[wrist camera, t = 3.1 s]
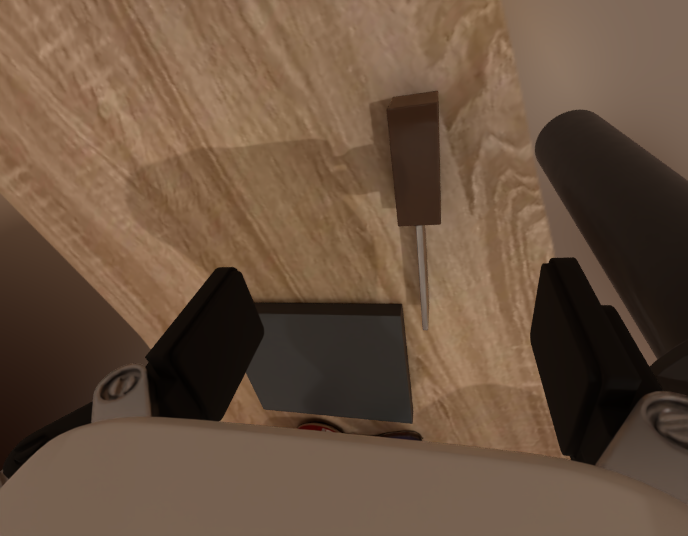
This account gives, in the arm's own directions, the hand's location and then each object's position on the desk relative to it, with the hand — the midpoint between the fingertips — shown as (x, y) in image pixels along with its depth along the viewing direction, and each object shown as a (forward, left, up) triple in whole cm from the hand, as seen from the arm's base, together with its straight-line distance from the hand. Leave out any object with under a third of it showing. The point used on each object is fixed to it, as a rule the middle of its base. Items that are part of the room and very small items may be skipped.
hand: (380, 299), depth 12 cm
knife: (-1, +4, -14) cm, 15 cm away
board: (+10, +20, -14) cm, 27 cm away
